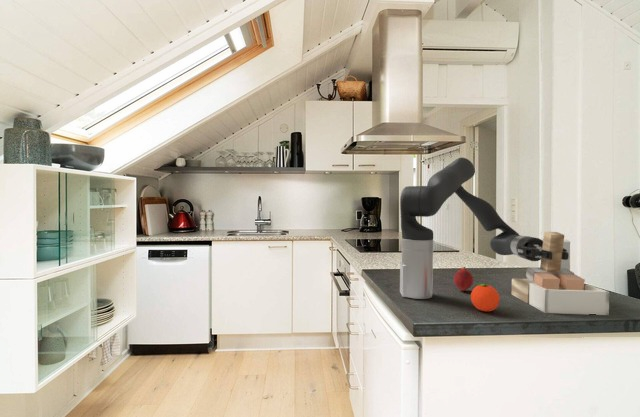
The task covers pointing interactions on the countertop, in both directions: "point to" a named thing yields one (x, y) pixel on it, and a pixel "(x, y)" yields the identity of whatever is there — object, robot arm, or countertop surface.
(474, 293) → the clementine
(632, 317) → the countertop surface
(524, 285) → the tan wooden block
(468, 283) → the onion
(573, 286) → the tile right
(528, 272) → the scraper
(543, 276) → the tile left
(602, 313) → the box
